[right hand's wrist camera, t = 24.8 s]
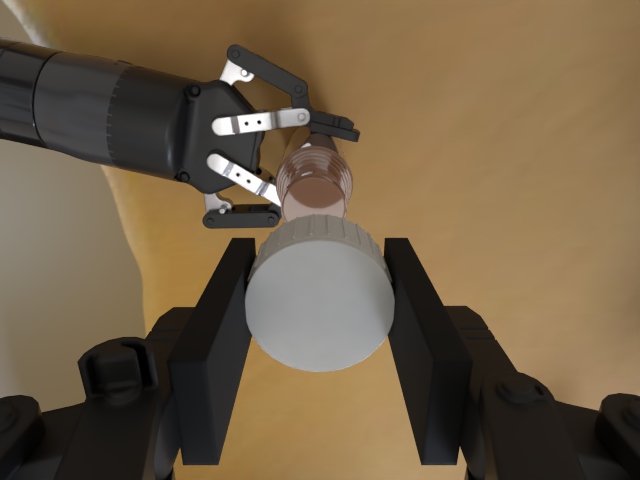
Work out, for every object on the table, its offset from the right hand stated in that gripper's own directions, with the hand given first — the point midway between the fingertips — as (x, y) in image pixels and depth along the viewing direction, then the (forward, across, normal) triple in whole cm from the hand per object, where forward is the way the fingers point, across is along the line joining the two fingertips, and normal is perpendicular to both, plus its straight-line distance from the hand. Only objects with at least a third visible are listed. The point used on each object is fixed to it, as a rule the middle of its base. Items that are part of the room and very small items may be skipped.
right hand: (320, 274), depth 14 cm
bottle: (+26, 0, 0) cm, 26 cm away
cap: (-2, 0, 0) cm, 2 cm away
